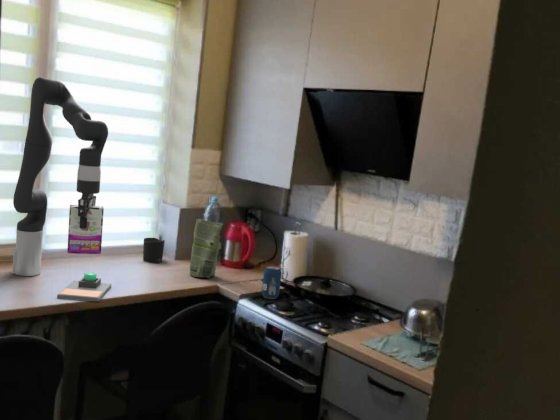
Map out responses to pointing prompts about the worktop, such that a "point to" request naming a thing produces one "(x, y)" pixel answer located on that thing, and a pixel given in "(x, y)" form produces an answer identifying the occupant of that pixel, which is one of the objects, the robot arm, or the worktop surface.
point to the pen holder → (153, 250)
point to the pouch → (205, 248)
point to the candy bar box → (85, 231)
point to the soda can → (271, 282)
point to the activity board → (85, 290)
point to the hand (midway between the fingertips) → (85, 226)
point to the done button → (90, 277)
